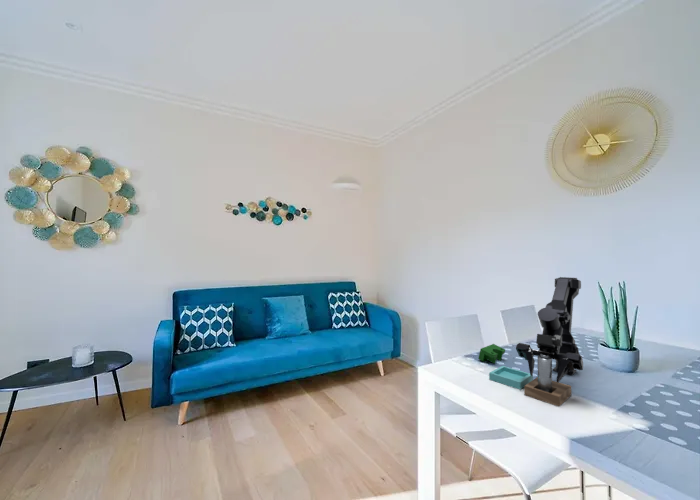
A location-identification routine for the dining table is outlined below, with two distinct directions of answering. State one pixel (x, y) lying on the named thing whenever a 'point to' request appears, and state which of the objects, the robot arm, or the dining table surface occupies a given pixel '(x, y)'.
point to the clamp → (491, 353)
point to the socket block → (556, 397)
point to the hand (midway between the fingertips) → (543, 378)
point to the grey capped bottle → (545, 373)
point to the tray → (510, 377)
